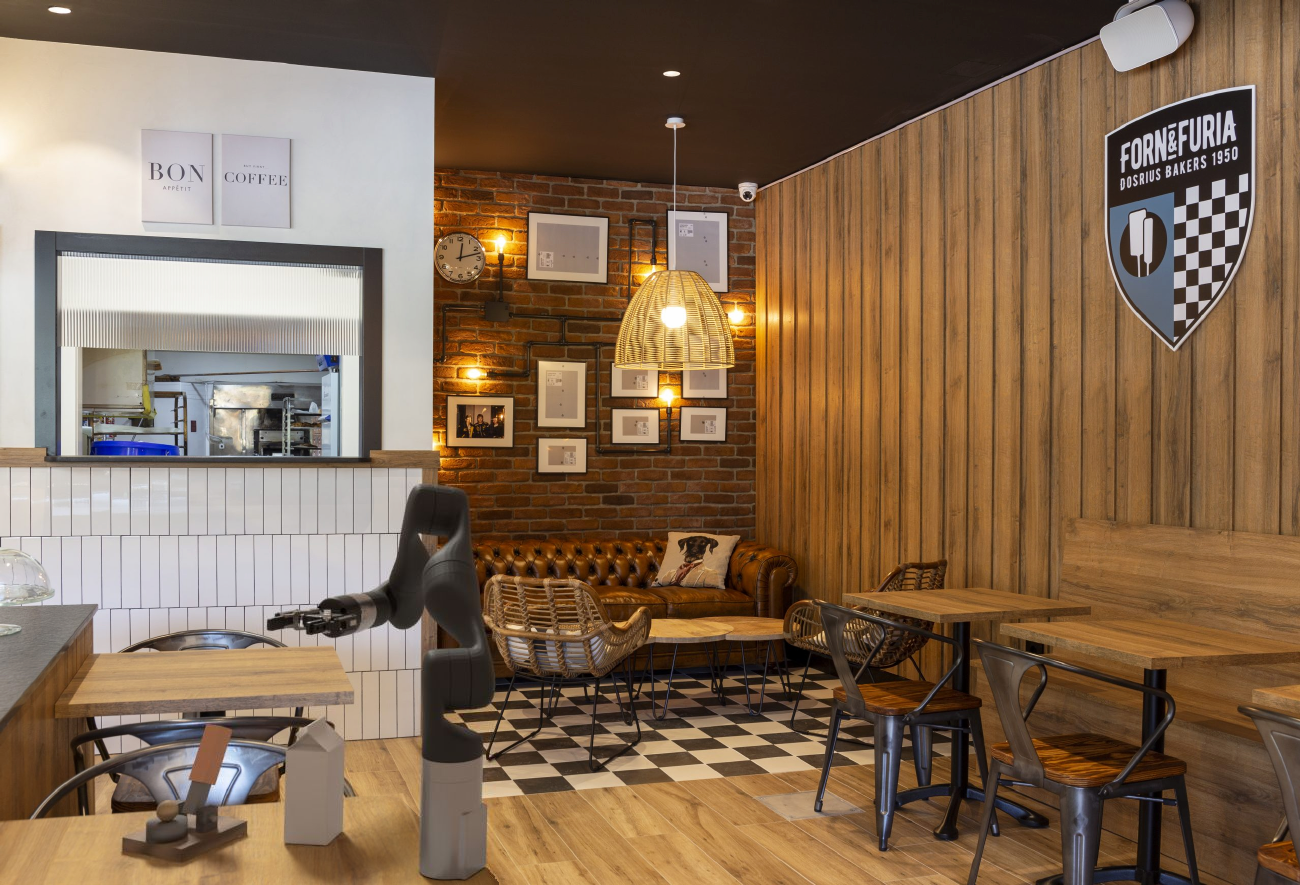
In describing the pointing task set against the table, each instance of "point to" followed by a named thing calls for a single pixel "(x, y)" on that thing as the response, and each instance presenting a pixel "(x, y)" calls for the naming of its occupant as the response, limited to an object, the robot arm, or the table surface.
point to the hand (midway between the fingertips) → (287, 627)
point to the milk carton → (314, 785)
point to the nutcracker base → (189, 842)
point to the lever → (206, 766)
